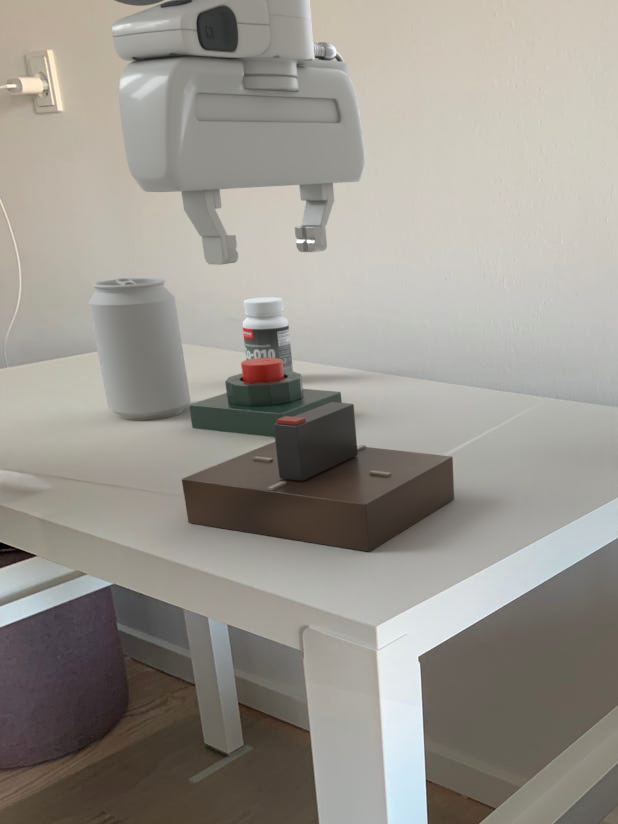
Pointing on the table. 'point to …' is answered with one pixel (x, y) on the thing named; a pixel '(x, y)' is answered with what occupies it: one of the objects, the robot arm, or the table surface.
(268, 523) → the brown wooden base
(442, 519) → the table surface
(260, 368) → the button
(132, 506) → the table surface
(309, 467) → the dark grey rectangular block
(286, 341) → the pill bottle
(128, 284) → the can
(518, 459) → the table surface
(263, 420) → the button box
